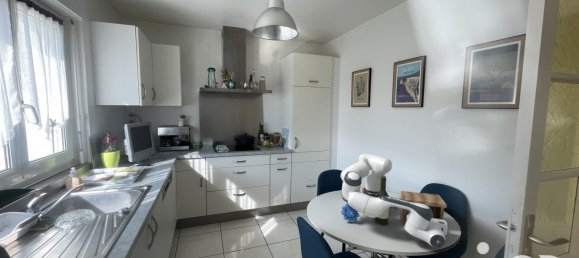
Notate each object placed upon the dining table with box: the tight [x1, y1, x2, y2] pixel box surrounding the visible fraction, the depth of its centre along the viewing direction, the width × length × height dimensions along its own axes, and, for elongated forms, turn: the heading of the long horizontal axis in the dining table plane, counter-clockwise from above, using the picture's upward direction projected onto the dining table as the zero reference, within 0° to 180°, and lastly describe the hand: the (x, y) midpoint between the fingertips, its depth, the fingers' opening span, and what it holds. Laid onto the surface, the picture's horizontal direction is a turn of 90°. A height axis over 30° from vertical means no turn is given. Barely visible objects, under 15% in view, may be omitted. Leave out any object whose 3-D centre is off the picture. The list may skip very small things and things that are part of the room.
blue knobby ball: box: [340, 202, 360, 223], centre depth 147 cm, size 12×7×12 cm, turn 97°
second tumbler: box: [405, 210, 410, 222], centre depth 152 cm, size 6×6×11 cm
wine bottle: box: [374, 175, 390, 226], centre depth 148 cm, size 8×8×30 cm
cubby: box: [399, 190, 448, 225], centre depth 147 cm, size 22×16×17 cm
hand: (423, 216), depth 142 cm, fingers closed on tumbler, 6 cm apart
